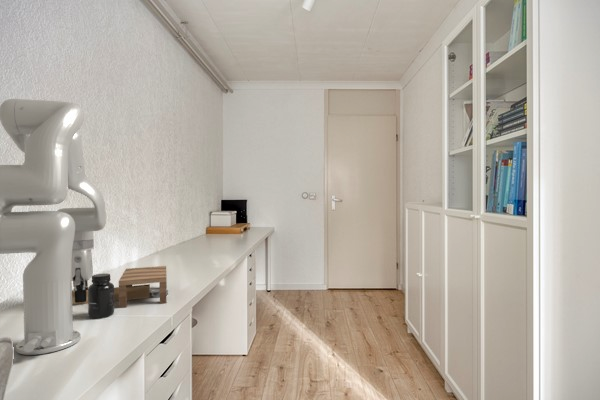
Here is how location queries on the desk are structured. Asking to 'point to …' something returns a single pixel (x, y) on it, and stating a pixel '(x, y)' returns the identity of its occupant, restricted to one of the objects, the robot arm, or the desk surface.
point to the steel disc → (156, 293)
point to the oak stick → (132, 293)
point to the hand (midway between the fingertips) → (81, 300)
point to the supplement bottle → (100, 297)
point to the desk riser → (142, 281)
